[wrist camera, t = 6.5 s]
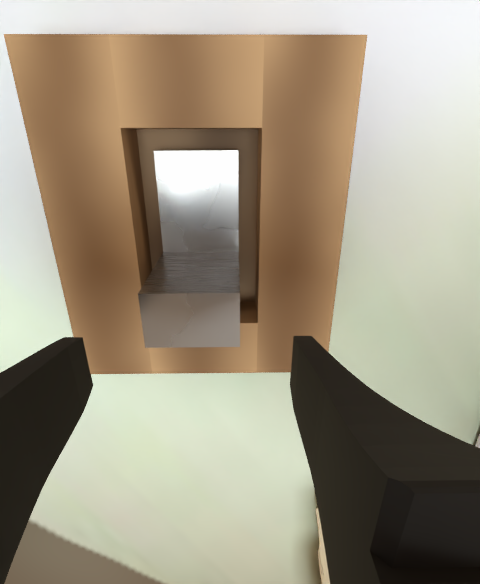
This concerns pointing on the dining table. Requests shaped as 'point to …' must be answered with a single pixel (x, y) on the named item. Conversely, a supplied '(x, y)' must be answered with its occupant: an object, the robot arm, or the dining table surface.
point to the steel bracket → (195, 253)
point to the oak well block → (192, 136)
